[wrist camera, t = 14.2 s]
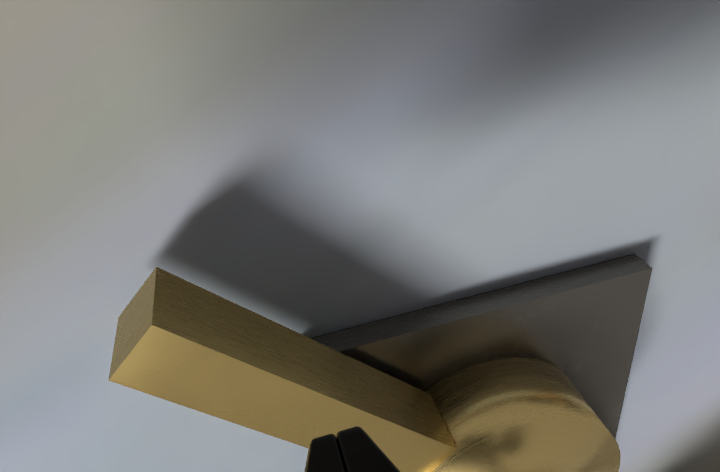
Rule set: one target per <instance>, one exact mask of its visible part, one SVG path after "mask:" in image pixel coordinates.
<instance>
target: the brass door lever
mask: <svg viewBox="0 0 720 472" xmlns="http://www.w3.org/2000/svg"><path fill="white" fill-rule="evenodd" d="M109 381H112V382H115V383H118V384H121V385H124V386H127V387H130V388H133V389H136V390H139V391H141V392H144V393H147V394H150V395H153V396H156V397H159V398H162V399H165V400H168V401H171V402H174V403H177V404H180V405H183V406H186V407H189V408H192V409H195V410H197V411H200V412H203V413H206V414H209V415H212V416H215V417H218V418H221V419H224V420H227V421H230V422H233V423H236V424H239V425H242V426H245V427H248V428H251V429H254V430H256V431H259V432H262V433H265V434H268V435H271V436H274V437H277V438H280V439H283V440H286V441H289V442H292V443H295V444H298V445H301V446H304V447H307V448H309V445H310V442H311V441H312V440H313V439H314V438H318V437H321V436H324V435H328V434H334V435H335V436H336V435H337V433H338V432H339V431H342V430H345V429H349V428H352V427H356V426H358V427H361V428H362V429H363V430H364V431H365V432H366V433H367V434H368V436H369V437H370V438H371V439H372V440H373V441H374V442H375V443H376V445H377V446H378V447H379V448H380V449H381V450H382V451H383V453H384V454H385V455H386V456H387V457H388V458H389V459H390V460H391V462H392V463H393V464H394V465H395V466H396V467H397V468H398V470H399V471H400V472H618V471H619V466H620V450H619V446H618V444H617V442H616V440H615V438H614V437H613V436H612V434H611V433H610V432H609V430H608V429H607V428H606V427H605V425H604V424H603V423H602V421H601V420H600V419H599V418H598V416H597V415H596V414H595V412H594V411H593V410H592V408H591V407H590V406H589V405H588V403H587V402H586V401H585V399H584V398H583V397H582V396H581V394H580V393H579V392H578V390H577V389H576V388H575V386H574V385H573V384H572V383H571V381H570V380H569V379H568V377H567V376H566V375H565V374H564V373H563V372H562V371H561V370H559V369H558V368H557V367H555V366H553V365H551V364H549V363H547V362H544V361H541V360H537V359H531V358H503V359H497V360H492V361H487V362H483V363H480V364H477V365H473V366H470V367H468V368H465V369H463V370H461V371H458V372H456V373H454V374H452V375H450V376H448V377H446V378H444V379H443V380H441V381H440V382H438V383H436V384H435V385H433V386H432V387H430V388H429V389H428V390H426V391H425V392H424V391H422V390H420V389H418V388H416V387H414V386H411V385H409V384H407V383H405V382H403V381H401V380H399V379H396V378H394V377H392V376H390V375H388V374H386V373H383V372H381V371H379V370H377V369H375V368H373V367H371V366H368V365H366V364H364V363H362V362H360V361H358V360H356V359H353V358H351V357H349V356H347V355H345V354H343V353H340V352H338V351H336V350H334V349H332V348H330V347H328V346H325V345H323V344H321V343H319V342H317V341H315V340H313V339H310V338H308V337H306V336H304V335H302V334H300V333H297V332H295V331H293V330H291V329H289V328H287V327H285V326H282V325H280V324H278V323H276V322H274V321H272V320H270V319H267V318H265V317H263V316H261V315H259V314H257V313H254V312H252V311H250V310H248V309H246V308H244V307H242V306H239V305H237V304H235V303H233V302H231V301H229V300H227V299H224V298H222V297H220V296H218V295H216V294H214V293H211V292H209V291H207V290H205V289H203V288H201V287H199V286H196V285H194V284H192V283H190V282H188V281H186V280H184V279H181V278H179V277H177V276H175V275H173V274H171V273H168V272H166V271H164V270H162V269H160V268H158V267H156V268H155V269H154V271H153V272H152V273H151V275H150V276H149V277H148V279H147V280H146V281H145V283H144V284H143V285H142V287H141V288H140V289H139V291H138V292H137V293H136V295H135V296H134V297H133V299H132V300H131V301H130V303H129V304H128V305H127V307H126V308H125V309H124V311H123V312H122V313H121V315H120V316H119V318H118V325H117V331H116V337H115V344H114V350H113V356H112V363H111V369H110V375H109Z"/></svg>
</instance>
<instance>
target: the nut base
mask: <svg viewBox="0 0 720 472" xmlns="http://www.w3.org/2000/svg"><path fill="white" fill-rule="evenodd" d="M651 271H652V268H651V267H650V266H649V265H648V264H646V263H645V262H644V261H643V260H642V259H640V258H639V257H638V256H637V255H636V254H633V255H629V256H625V257H621V258H617V259H614V260H610V261H606V262H602V263H598V264H594V265H591V266H587V267H583V268H579V269H575V270H571V271H568V272H564V273H560V274H556V275H552V276H548V277H545V278H541V279H537V280H533V281H529V282H525V283H522V284H518V285H514V286H510V287H506V288H502V289H499V290H495V291H491V292H487V293H483V294H479V295H476V296H472V297H468V298H464V299H460V300H456V301H453V302H449V303H445V304H441V305H437V306H433V307H430V308H426V309H422V310H418V311H414V312H410V313H407V314H403V315H399V316H395V317H391V318H387V319H384V320H380V321H376V322H372V323H368V324H364V325H361V326H357V327H353V328H349V329H345V330H341V331H337V332H334V333H330V334H326V335H322V336H318V337H314V338H311V339H313V340H315V341H317V342H319V343H321V344H323V345H325V346H328V347H330V348H332V349H334V350H336V351H338V352H340V353H343V354H345V355H347V356H349V357H351V358H353V359H356V360H358V361H360V362H362V363H364V364H366V365H368V366H371V367H373V368H375V369H377V370H379V371H381V372H383V373H386V374H388V375H390V376H392V377H394V378H396V379H399V380H401V381H403V382H405V383H407V384H409V385H411V386H414V387H416V388H418V389H420V390H422V391H424V392H425V391H426V390H428V389H429V388H430V387H432V386H433V385H435V384H436V383H438V382H440V381H441V380H443V379H444V378H446V377H448V376H450V375H452V374H454V373H456V372H458V371H461V370H463V369H465V368H468V367H470V366H473V365H477V364H480V363H483V362H487V361H492V360H497V359H503V358H531V359H537V360H541V361H544V362H547V363H549V364H551V365H553V366H555V367H557V368H558V369H559V370H561V371H562V372H563V373H564V374H565V375H566V376H567V377H568V379H569V380H570V381H571V383H572V384H573V385H574V386H575V388H576V389H577V390H578V392H579V393H580V394H581V396H582V397H583V398H584V399H585V401H586V402H587V403H588V405H589V406H590V407H591V408H592V410H593V411H594V412H595V414H596V415H597V416H598V418H599V419H600V420H601V421H602V423H603V424H604V425H605V427H606V428H607V429H608V430H609V432H610V433H611V434H612V436H613V437H614V438H615V437H616V433H617V428H618V423H619V419H620V414H621V410H622V405H623V400H624V396H625V391H626V386H627V382H628V377H629V373H630V368H631V363H632V359H633V354H634V350H635V345H636V340H637V336H638V331H639V326H640V322H641V317H642V313H643V308H644V303H645V299H646V294H647V290H648V285H649V280H650V276H651Z"/></svg>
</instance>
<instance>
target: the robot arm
mask: <svg viewBox="0 0 720 472" xmlns="http://www.w3.org/2000/svg"><path fill="white" fill-rule="evenodd" d="M305 472H400V471H399V470H398V468H397V467H396V466H395V465H394V464H393V463H392V462H391V460H390V459H389V458H388V457H387V456H386V455H385V454H384V453H383V451H382V450H381V449H380V448H379V447H378V446H377V445H376V443H375V442H374V441H373V440H372V439H371V438H370V437H369V436H368V434H367V433H366V432H365V431H364V430H363V429H362V428H361V427H358V426H356V427H352V428H349V429H345V430H342V431H339V432H338V433H337V435H336V436H335V435H334V434H328V435H324V436H321V437H318V438H314V439H313V440H312V441H311V442H310V445H309V450H308V456H307V461H306V467H305Z"/></svg>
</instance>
